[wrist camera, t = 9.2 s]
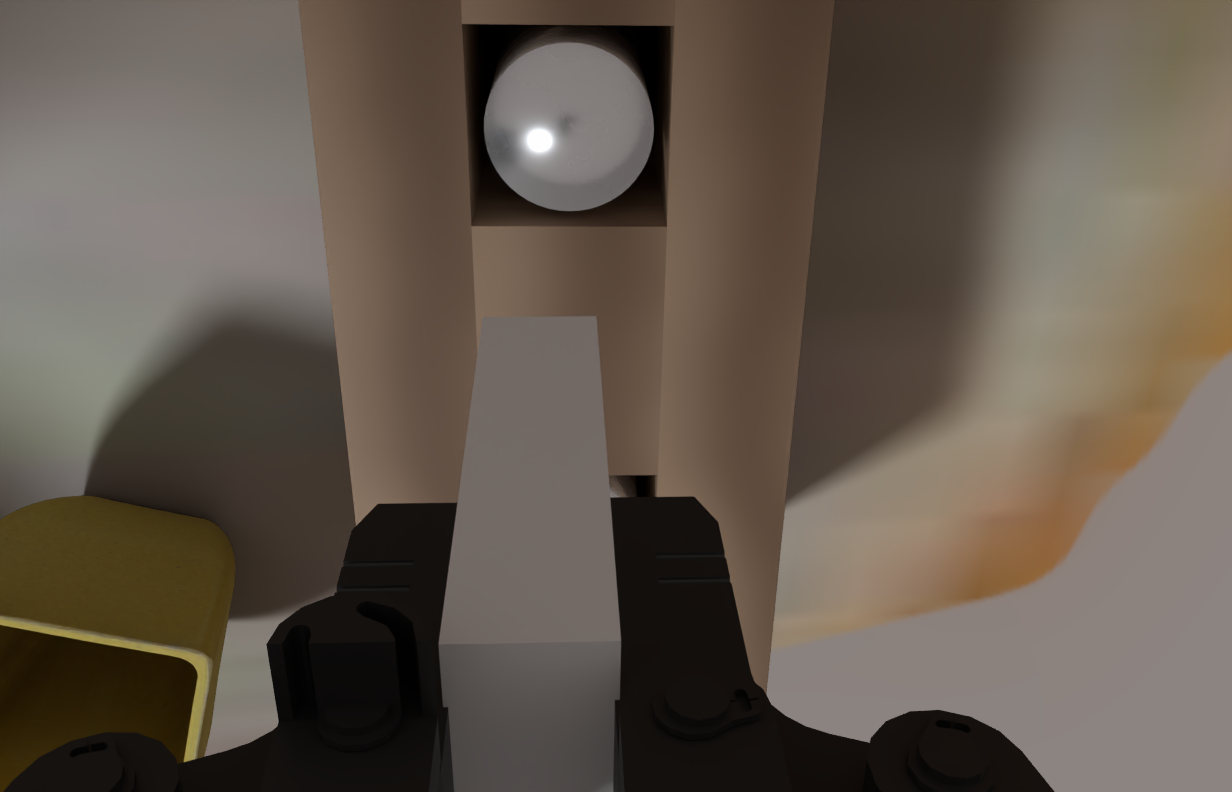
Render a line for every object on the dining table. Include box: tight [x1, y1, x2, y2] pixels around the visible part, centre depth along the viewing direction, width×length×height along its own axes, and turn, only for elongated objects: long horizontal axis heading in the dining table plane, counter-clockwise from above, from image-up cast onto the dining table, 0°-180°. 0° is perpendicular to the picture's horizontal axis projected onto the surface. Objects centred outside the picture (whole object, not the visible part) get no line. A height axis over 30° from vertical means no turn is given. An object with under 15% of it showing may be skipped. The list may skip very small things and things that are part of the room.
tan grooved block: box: [298, 0, 835, 693], centre depth 34 cm, size 12×24×9 cm, turn 179°
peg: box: [484, 24, 654, 211], centre depth 32 cm, size 4×4×9 cm
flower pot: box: [0, 496, 235, 792], centre depth 40 cm, size 9×9×9 cm
